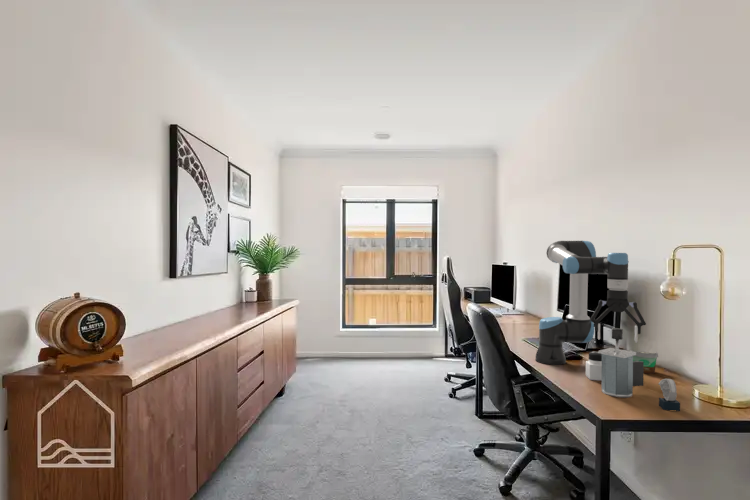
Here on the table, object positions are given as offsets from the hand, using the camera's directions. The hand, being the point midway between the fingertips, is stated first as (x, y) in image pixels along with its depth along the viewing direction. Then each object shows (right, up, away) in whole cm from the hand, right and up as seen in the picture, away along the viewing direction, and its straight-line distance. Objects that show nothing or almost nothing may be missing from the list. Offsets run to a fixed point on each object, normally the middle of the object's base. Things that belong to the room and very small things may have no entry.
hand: (617, 340), depth 182 cm
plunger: (0, -19, 0) cm, 19 cm away
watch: (+10, -22, -17) cm, 30 cm away
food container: (+31, -22, +31) cm, 50 cm away
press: (+2, -22, +1) cm, 22 cm away
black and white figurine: (+2, -22, +21) cm, 31 cm away
